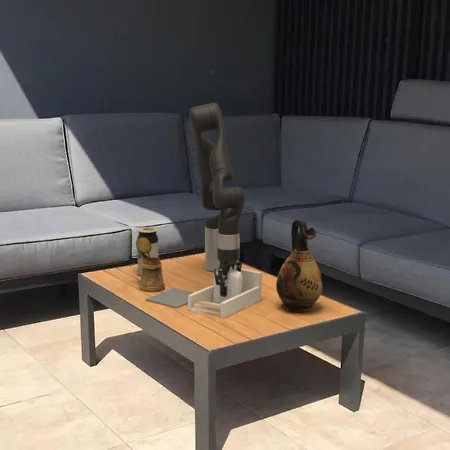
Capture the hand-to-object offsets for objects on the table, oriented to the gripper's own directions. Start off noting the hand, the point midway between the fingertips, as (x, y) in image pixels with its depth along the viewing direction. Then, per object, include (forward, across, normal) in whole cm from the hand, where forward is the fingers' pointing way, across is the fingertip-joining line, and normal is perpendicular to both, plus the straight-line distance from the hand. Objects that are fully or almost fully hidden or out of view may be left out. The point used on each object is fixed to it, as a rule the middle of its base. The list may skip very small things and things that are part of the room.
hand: (227, 294), depth 244 cm
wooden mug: (+4, +1, -34) cm, 34 cm away
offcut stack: (+4, +11, 0) cm, 12 cm away
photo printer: (+4, 0, 0) cm, 4 cm away
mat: (+3, +6, -18) cm, 19 cm away
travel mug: (+4, -11, -45) cm, 46 cm away
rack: (+3, +1, 0) cm, 4 cm away
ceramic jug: (+4, -11, +21) cm, 24 cm away
